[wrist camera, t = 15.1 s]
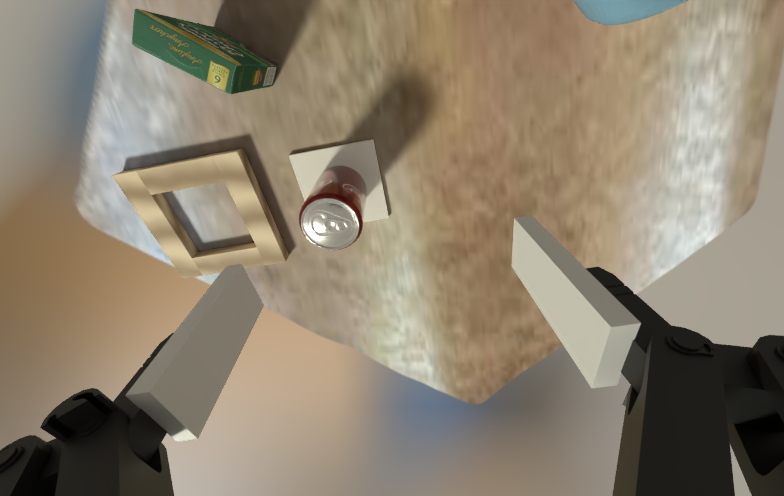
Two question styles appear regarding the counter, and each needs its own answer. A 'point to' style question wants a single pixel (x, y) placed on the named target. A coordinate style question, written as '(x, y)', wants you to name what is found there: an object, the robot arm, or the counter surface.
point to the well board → (208, 169)
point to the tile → (349, 155)
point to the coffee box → (202, 52)
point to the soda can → (334, 209)
